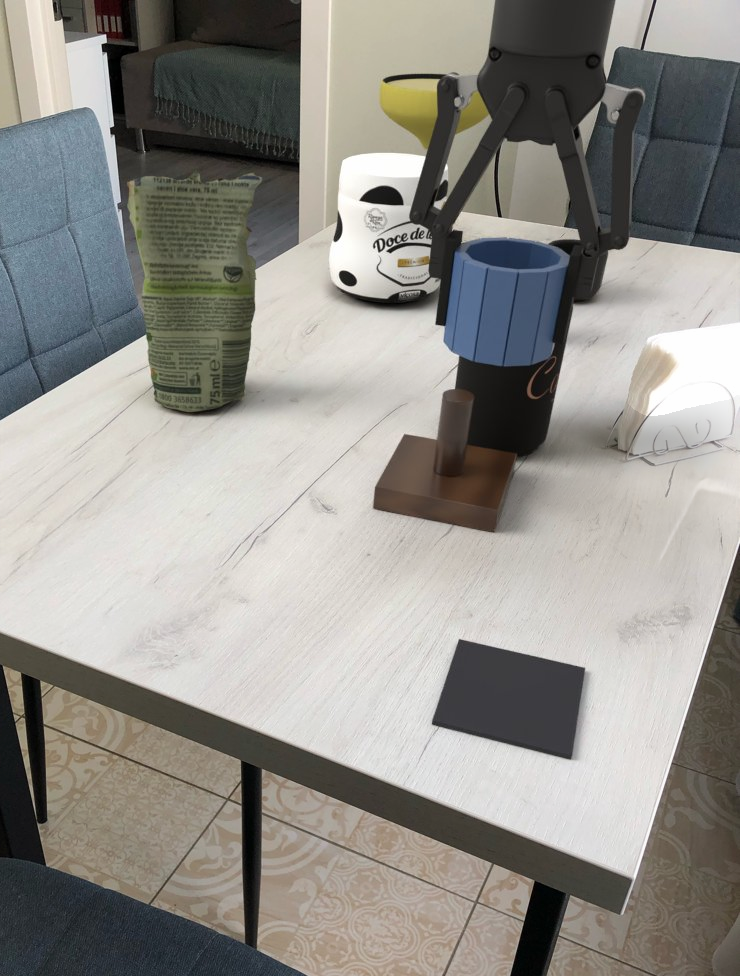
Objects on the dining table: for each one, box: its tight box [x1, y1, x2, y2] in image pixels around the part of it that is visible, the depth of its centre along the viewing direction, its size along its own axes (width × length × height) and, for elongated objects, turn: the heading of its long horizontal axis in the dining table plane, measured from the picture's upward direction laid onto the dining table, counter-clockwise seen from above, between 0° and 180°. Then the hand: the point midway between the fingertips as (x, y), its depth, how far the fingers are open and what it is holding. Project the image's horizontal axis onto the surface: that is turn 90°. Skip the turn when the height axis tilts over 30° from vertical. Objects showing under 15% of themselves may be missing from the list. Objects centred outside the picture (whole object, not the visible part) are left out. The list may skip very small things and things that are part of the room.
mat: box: [431, 638, 586, 760], centre depth 71 cm, size 10×10×1 cm
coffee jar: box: [454, 306, 574, 459], centre depth 99 cm, size 11×11×18 cm
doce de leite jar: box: [328, 152, 449, 304], centre depth 137 cm, size 17×17×18 cm
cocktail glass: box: [378, 73, 490, 152], centre depth 154 cm, size 18×18×25 cm
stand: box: [372, 388, 518, 533], centre depth 92 cm, size 12×12×10 cm
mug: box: [547, 238, 609, 302], centre depth 141 cm, size 12×9×7 cm
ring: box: [442, 236, 570, 366], centre depth 72 cm, size 8×8×7 cm
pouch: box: [126, 169, 263, 413], centre depth 105 cm, size 11×12×25 cm
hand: (500, 328), depth 73 cm, fingers closed on ring, 8 cm apart
